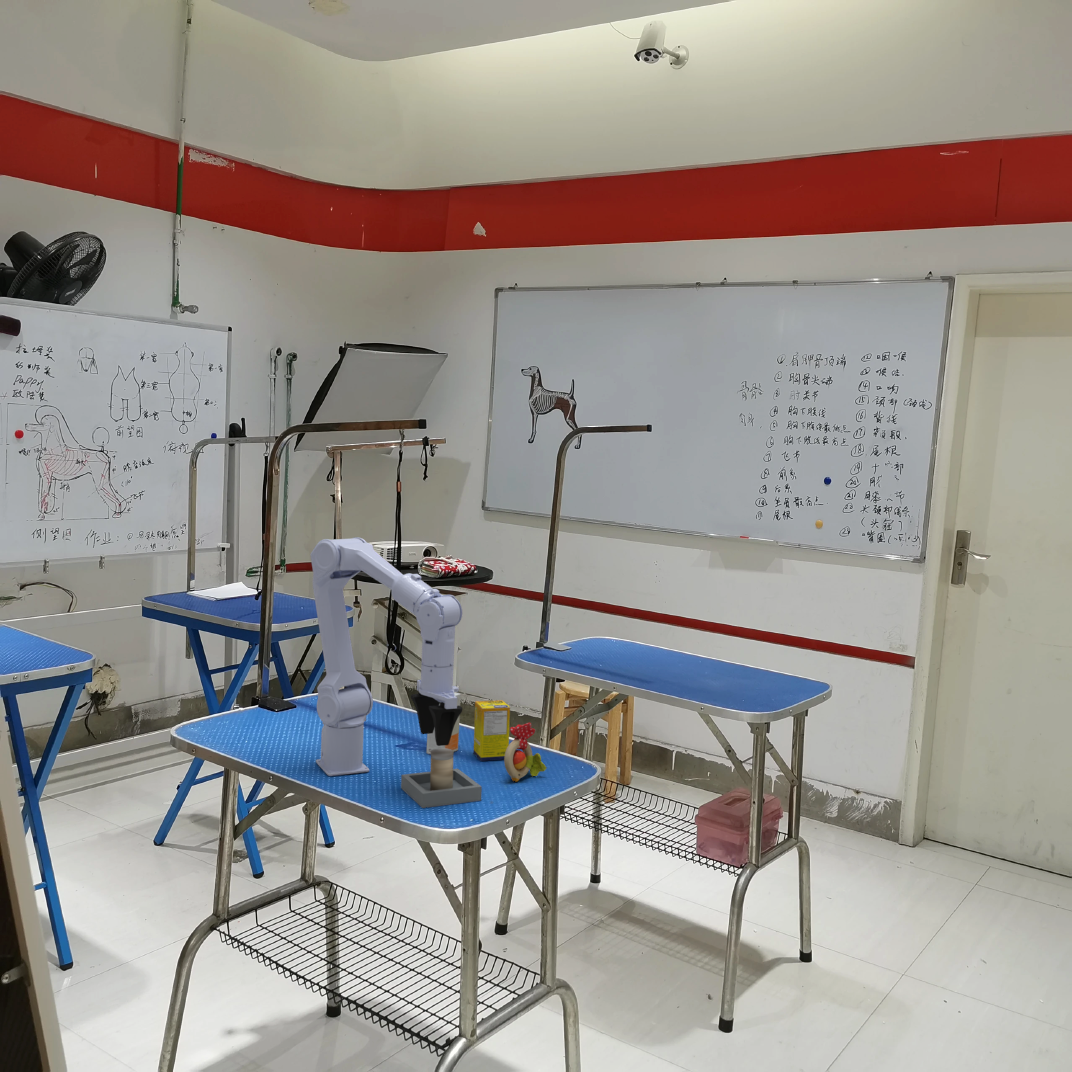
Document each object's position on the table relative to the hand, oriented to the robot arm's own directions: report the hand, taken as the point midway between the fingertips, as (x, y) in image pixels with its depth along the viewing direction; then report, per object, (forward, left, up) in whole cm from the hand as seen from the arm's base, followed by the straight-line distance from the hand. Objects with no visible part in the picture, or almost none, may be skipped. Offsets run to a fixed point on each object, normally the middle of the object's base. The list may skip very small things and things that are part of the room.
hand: (434, 739), depth 179 cm
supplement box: (-17, +19, -10) cm, 27 cm away
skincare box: (-23, +11, -10) cm, 27 cm away
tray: (+1, +1, -10) cm, 10 cm away
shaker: (+1, +1, -9) cm, 9 cm away
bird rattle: (-2, +19, -10) cm, 22 cm away
